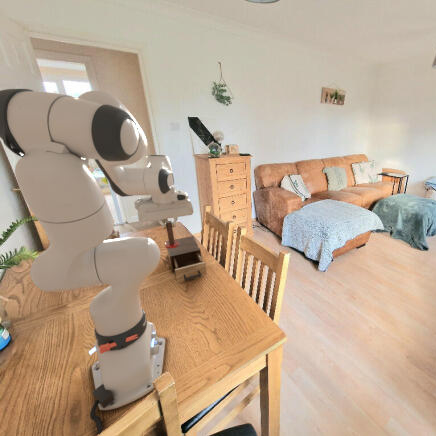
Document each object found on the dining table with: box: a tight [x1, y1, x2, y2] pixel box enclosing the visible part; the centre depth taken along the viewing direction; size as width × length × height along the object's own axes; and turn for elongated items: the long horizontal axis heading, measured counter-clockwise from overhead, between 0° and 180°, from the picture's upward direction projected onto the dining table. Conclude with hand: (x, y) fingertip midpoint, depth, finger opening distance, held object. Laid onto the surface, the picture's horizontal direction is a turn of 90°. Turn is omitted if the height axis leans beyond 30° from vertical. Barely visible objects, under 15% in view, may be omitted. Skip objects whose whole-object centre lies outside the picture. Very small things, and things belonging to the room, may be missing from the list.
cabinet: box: [165, 235, 203, 273], centre depth 120 cm, size 17×14×9 cm
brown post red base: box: [164, 220, 179, 249], centre depth 101 cm, size 6×6×11 cm
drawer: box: [173, 252, 207, 284], centre depth 110 cm, size 20×12×7 cm, turn 32°
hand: (169, 227), depth 100 cm, fingers closed on brown post red base, 2 cm apart
